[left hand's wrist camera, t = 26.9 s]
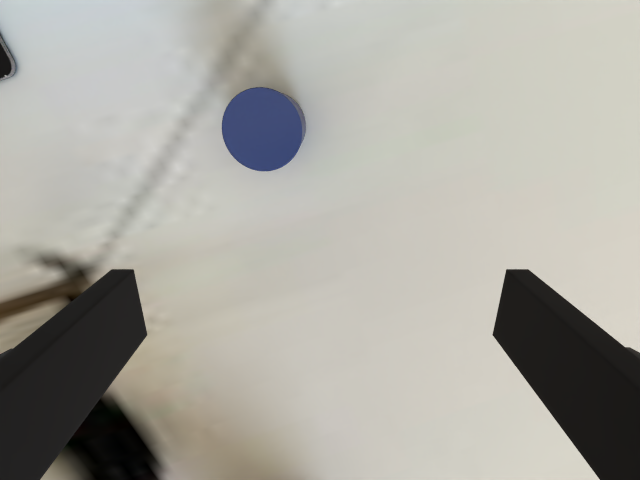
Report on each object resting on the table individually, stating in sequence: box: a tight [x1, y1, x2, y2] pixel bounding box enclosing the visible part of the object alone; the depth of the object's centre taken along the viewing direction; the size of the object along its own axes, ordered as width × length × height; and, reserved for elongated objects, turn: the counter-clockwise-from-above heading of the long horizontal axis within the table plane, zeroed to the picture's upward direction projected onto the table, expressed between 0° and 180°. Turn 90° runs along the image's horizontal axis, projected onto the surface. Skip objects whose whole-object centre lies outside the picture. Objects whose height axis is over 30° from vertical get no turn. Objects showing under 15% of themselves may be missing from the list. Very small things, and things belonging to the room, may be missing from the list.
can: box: [222, 87, 306, 171], centre depth 30 cm, size 6×6×8 cm
